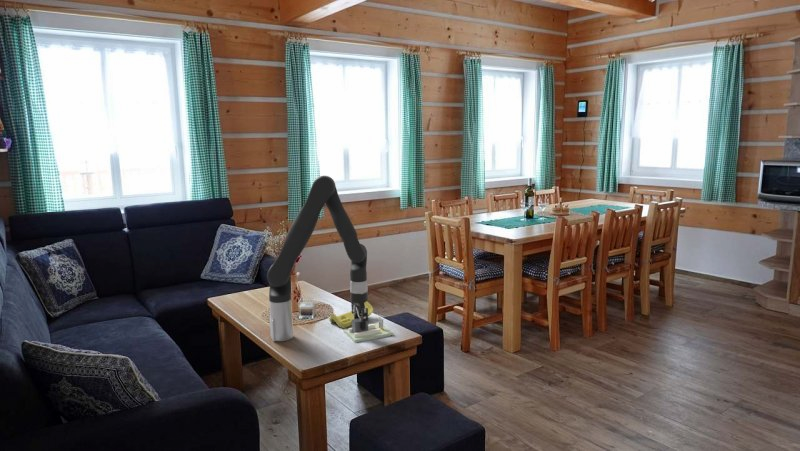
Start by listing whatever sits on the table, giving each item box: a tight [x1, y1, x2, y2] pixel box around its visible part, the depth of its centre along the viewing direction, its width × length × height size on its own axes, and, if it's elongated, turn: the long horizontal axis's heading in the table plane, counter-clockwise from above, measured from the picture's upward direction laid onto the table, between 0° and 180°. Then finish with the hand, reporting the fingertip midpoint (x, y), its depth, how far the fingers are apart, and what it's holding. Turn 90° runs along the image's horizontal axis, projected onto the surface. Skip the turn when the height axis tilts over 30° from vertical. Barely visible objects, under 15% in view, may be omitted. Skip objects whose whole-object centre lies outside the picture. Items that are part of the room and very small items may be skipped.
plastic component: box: [329, 300, 374, 329], centre depth 256 cm, size 20×7×10 cm
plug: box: [351, 317, 369, 334], centre depth 237 cm, size 6×4×6 cm, turn 116°
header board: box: [343, 316, 394, 343], centre depth 239 cm, size 18×13×6 cm
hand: (359, 326), depth 238 cm, fingers open, 6 cm apart
